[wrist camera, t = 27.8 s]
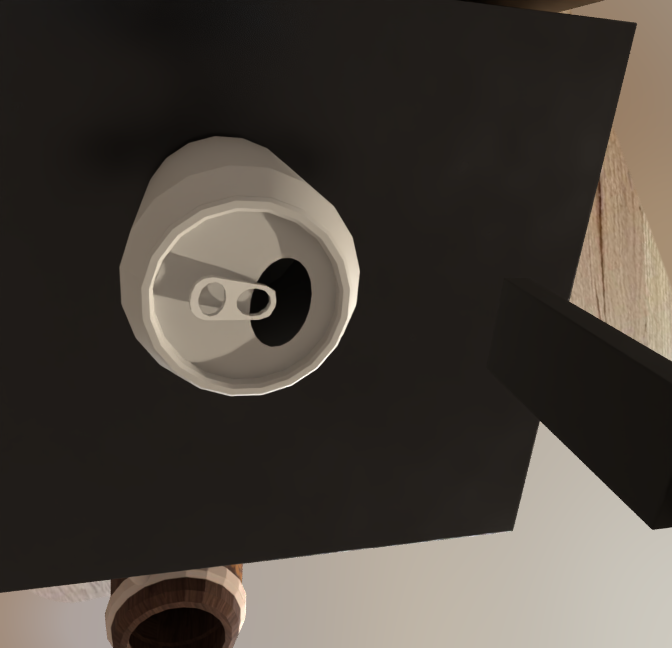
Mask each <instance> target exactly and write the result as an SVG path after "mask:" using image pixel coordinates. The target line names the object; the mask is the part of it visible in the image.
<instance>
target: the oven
mask: <svg viewBox="0 0 672 648" xmlns="http://www.w3.org/2000/svg"><path fill="white" fill-rule="evenodd" d="M636 26H637V23H634V22H626V21H618V20H610V19H603V18H594V17H587V16H579V15H571V14H563V13H556V12H548V11H540V10H532V9H524V8H516V7H508V6H501V5H493V4H485V3H477V2H469V1H461V0H0V593H2V592H11V591H19V590H28V589H36V588H44V587H53V586H61V585H69V584H78V583H86V582H94V581H103V580H111V579H119V578H128V577H136V576H144V575H153V574H161V573H169V572H178V571H186V570H194V569H203V568H211V567H219V566H228V565H236V564H244V563H253V562H260V561H269V560H278V559H285V558H294V557H303V556H311V555H319V554H327V553H336V552H344V551H353V550H360V549H369V548H378V547H386V546H394V545H403V544H410V543H419V542H428V541H436V540H444V539H452V538H460V537H469V536H478V535H486V534H494V533H502V532H511V531H513V528H514V524H515V520H516V516H517V512H518V508H519V504H520V500H521V496H522V491H523V487H524V483H525V479H526V475H527V471H528V467H529V463H530V459H531V455H532V451H533V447H534V442H535V438H536V434H537V430H538V426H539V422H540V420H539V419H538V418H537V417H536V416H535V415H534V414H533V413H532V412H531V411H530V410H528V409H527V408H526V407H525V406H524V405H523V404H522V403H521V402H520V401H519V400H518V399H517V398H516V397H515V396H514V395H513V394H512V393H511V392H510V391H509V390H508V389H507V388H506V387H505V386H504V385H503V384H502V383H501V382H500V381H499V380H498V379H497V378H496V377H495V376H493V375H492V374H491V373H490V372H489V371H488V370H487V369H486V368H487V363H488V358H489V353H490V348H491V342H492V337H493V332H494V327H495V322H496V317H497V312H498V307H499V301H500V296H501V291H502V286H503V281H504V278H530V279H531V280H533V281H535V282H536V283H538V284H540V285H542V286H543V287H545V288H547V289H548V290H550V291H552V292H554V293H555V294H557V295H559V296H560V297H562V298H564V299H566V300H567V301H569V300H570V295H571V291H572V287H573V283H574V279H575V275H576V271H577V267H578V263H579V259H580V255H581V250H582V246H583V242H584V238H585V234H586V230H587V226H588V222H589V218H590V214H591V210H592V206H593V201H594V197H595V193H596V189H597V185H598V181H599V177H600V173H601V169H602V165H603V161H604V156H605V152H606V148H607V144H608V140H609V136H610V132H611V128H612V124H613V120H614V116H615V111H616V107H617V103H618V99H619V95H620V91H621V87H622V83H623V79H624V75H625V71H626V67H627V62H628V58H629V54H630V50H631V46H632V42H633V37H634V34H635V30H636ZM214 136H219V137H233V138H243V139H245V140H248V141H250V142H253V143H255V144H258V145H260V146H262V147H265V148H267V149H268V150H270V151H271V152H272V153H273V154H274V155H275V156H277V157H278V158H279V159H280V160H281V161H283V162H284V163H285V164H286V165H287V166H288V167H289V168H291V169H292V170H293V171H294V172H295V173H296V174H297V175H299V176H300V177H301V178H302V179H303V180H304V181H305V182H307V183H308V184H309V185H310V186H311V187H312V188H313V189H315V190H316V191H317V192H318V193H319V194H320V195H321V196H323V197H324V198H325V199H326V200H327V201H328V202H329V203H331V204H332V205H333V206H334V207H335V209H336V211H337V212H338V214H339V216H340V217H341V219H342V221H343V222H344V224H345V226H346V227H347V229H348V231H349V232H350V234H351V236H352V237H353V242H354V246H355V251H356V256H357V260H358V265H359V269H360V274H359V284H358V293H357V302H356V306H355V309H354V311H353V313H352V315H351V318H350V320H349V322H348V324H347V327H346V329H345V331H344V334H343V336H342V337H341V339H340V341H339V343H338V345H337V347H336V348H335V349H334V350H333V351H332V352H331V354H330V355H329V356H328V357H327V358H326V359H325V361H324V362H323V363H322V364H321V365H320V366H319V368H318V369H316V370H315V371H313V372H312V373H310V374H309V375H307V376H306V377H304V378H303V379H301V380H299V381H298V382H296V383H295V384H293V385H292V386H289V387H285V388H282V389H279V390H276V391H273V392H270V393H267V394H264V395H247V396H228V395H224V394H220V393H216V392H212V391H208V390H203V389H200V388H198V387H196V386H195V385H193V384H191V383H189V382H188V381H186V380H184V379H183V378H181V377H179V376H178V375H176V374H174V373H173V372H171V371H170V370H168V369H166V368H164V367H163V366H161V365H160V364H159V363H158V362H157V361H156V360H155V359H154V358H153V357H152V356H151V354H150V353H149V352H148V351H147V350H146V349H145V348H144V347H143V346H142V344H141V343H140V342H139V341H138V340H137V339H136V337H135V335H134V333H133V330H132V328H131V326H130V323H129V321H128V319H127V316H126V314H125V311H124V309H123V307H122V304H121V286H120V268H119V267H120V264H121V261H122V257H123V254H124V251H125V247H126V244H127V241H128V238H129V234H130V231H131V228H132V226H133V223H134V221H135V218H136V215H137V213H138V210H139V207H140V205H141V202H142V200H143V197H144V194H145V192H146V189H147V187H148V184H149V181H150V179H151V178H152V176H153V175H154V174H155V172H156V171H157V170H158V168H159V167H160V166H161V164H162V163H163V162H164V160H165V159H166V158H167V157H169V156H170V155H172V154H173V153H175V152H176V151H178V150H179V149H181V148H182V147H184V146H185V145H187V144H188V143H191V142H195V141H199V140H202V139H206V138H210V137H214Z"/></svg>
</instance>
